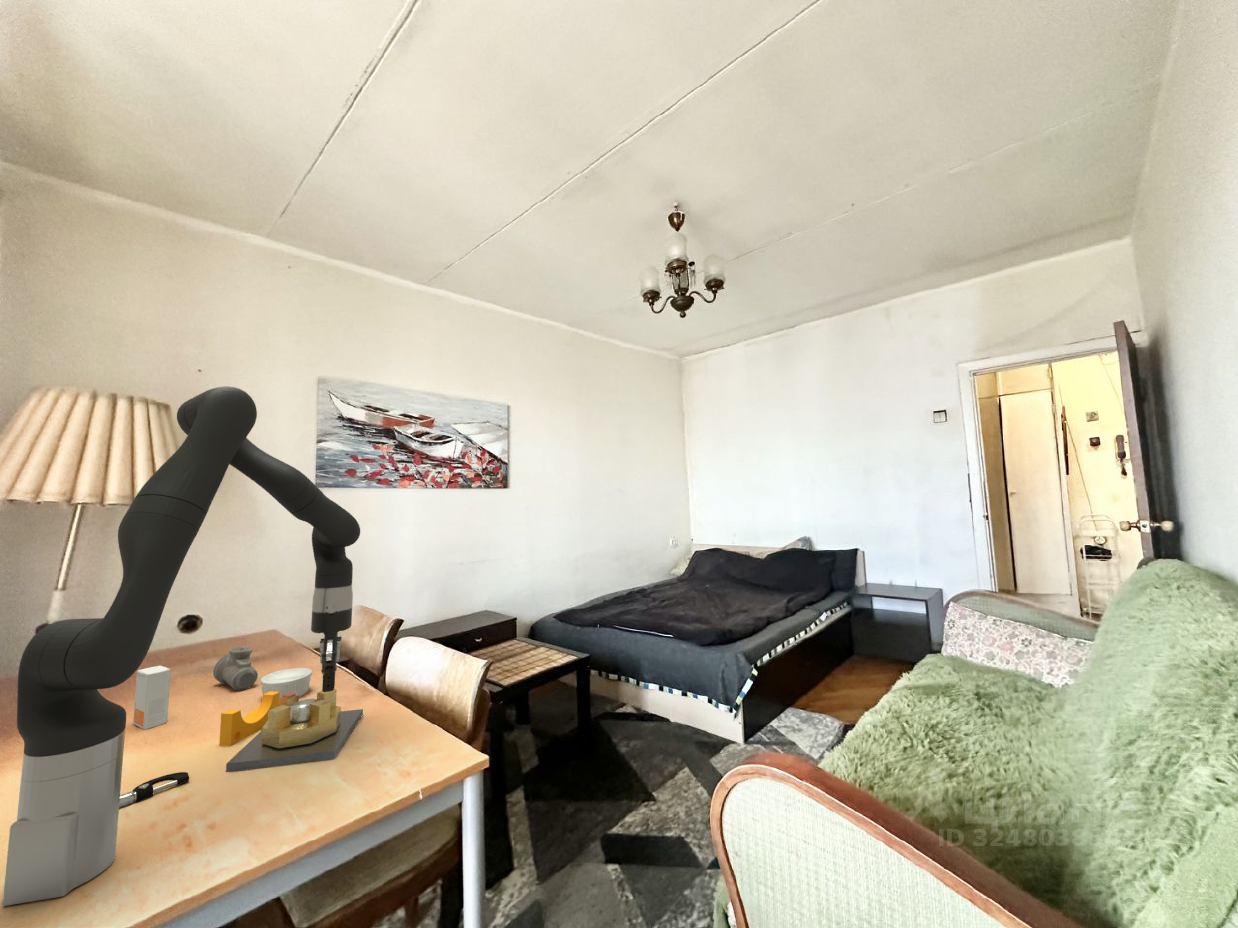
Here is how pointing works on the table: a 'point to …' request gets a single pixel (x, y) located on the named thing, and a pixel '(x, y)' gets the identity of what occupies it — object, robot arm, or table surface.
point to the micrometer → (148, 790)
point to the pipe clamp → (246, 720)
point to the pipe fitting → (236, 669)
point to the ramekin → (287, 681)
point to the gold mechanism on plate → (316, 751)
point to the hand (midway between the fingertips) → (328, 690)
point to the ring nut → (319, 725)
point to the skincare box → (152, 697)
